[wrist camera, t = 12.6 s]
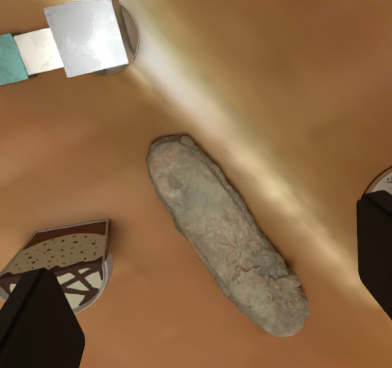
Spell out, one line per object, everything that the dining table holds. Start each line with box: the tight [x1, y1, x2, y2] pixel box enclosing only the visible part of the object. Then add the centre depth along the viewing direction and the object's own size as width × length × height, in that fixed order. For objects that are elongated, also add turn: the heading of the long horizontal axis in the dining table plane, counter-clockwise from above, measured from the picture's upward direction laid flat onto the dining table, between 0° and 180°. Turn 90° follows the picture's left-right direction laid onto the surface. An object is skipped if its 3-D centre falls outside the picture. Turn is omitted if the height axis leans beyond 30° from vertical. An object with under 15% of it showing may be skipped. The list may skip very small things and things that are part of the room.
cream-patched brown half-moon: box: [0, 219, 113, 314], centre depth 40 cm, size 12×6×10 cm, turn 99°
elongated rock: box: [146, 136, 309, 337], centre depth 45 cm, size 35×5×10 cm
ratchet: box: [0, 5, 139, 85], centre depth 32 cm, size 16×7×7 cm, turn 102°
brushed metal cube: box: [43, 0, 135, 77], centre depth 30 cm, size 5×5×6 cm
